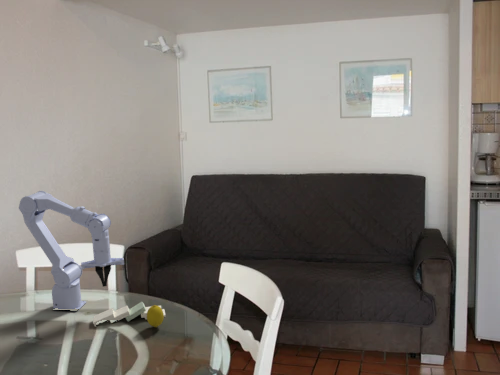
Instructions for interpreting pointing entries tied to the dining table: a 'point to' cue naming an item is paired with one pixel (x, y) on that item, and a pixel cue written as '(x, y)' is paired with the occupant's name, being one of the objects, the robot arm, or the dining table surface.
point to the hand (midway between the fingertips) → (104, 285)
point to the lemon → (155, 316)
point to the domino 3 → (136, 311)
